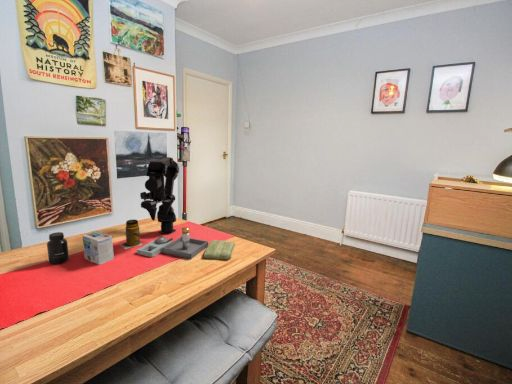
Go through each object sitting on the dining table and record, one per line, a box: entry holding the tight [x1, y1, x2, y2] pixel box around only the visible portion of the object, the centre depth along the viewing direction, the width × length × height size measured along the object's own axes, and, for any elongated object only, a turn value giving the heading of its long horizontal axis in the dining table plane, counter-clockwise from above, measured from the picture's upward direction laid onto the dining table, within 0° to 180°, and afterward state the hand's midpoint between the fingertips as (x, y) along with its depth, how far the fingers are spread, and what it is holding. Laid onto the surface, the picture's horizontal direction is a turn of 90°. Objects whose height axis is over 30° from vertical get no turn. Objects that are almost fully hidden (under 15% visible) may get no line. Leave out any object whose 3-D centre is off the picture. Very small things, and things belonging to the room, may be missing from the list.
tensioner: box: [136, 235, 174, 258], centre depth 127 cm, size 16×9×3 cm, turn 161°
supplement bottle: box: [46, 231, 70, 265], centre depth 110 cm, size 7×7×12 cm
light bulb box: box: [82, 230, 115, 266], centre depth 114 cm, size 11×7×11 cm, turn 62°
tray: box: [161, 235, 209, 260], centre depth 127 cm, size 15×15×2 cm
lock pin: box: [181, 226, 191, 250], centre depth 126 cm, size 3×3×10 cm
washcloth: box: [203, 239, 236, 261], centre depth 127 cm, size 13×18×3 cm
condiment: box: [119, 219, 144, 250], centre depth 129 cm, size 7×8×12 cm
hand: (159, 217), depth 133 cm, fingers open, 9 cm apart
